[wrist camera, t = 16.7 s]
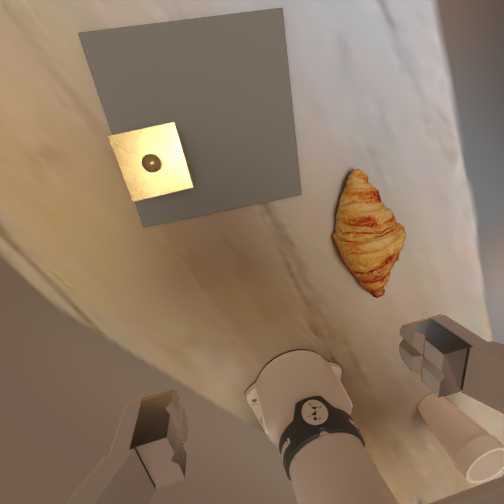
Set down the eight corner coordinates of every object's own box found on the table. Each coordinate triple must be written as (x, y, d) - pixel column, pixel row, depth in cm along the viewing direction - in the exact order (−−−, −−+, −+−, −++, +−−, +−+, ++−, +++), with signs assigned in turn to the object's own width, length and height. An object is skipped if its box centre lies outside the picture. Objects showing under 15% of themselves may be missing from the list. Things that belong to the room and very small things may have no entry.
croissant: (320, 175, 40) (317, 187, 34) (391, 154, 36) (404, 162, 30) (347, 287, 48) (349, 315, 41) (409, 279, 44) (422, 309, 37)
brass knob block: (195, 181, 33) (192, 188, 25) (148, 192, 33) (130, 203, 24) (180, 131, 31) (173, 120, 23) (130, 142, 30) (103, 134, 22)
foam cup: (451, 383, 58) (516, 442, 46) (445, 412, 61) (505, 474, 49) (413, 394, 57) (470, 456, 45) (409, 423, 60) (462, 488, 48)
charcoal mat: (299, 194, 37) (301, 194, 36) (144, 226, 35) (143, 227, 34) (280, 11, 29) (282, 7, 29) (81, 36, 27) (77, 32, 26)
